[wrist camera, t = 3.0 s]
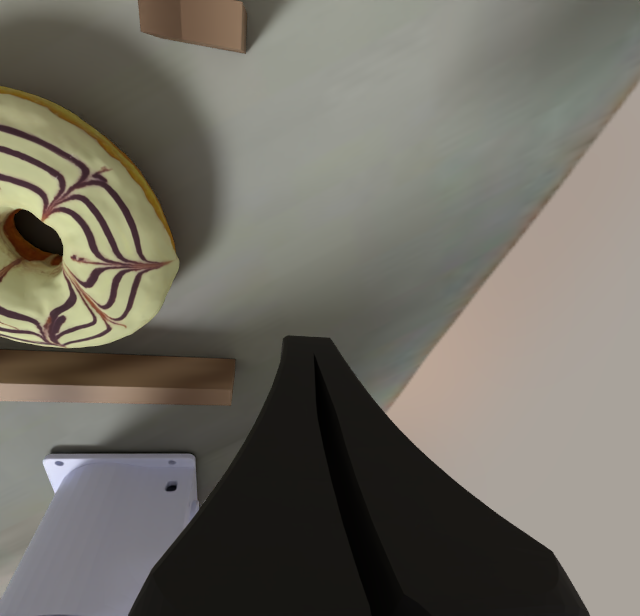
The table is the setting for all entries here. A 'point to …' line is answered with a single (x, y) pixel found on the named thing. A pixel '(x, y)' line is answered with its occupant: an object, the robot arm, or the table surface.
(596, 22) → the table surface
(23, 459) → the table surface
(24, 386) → the lane
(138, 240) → the decorated donut
